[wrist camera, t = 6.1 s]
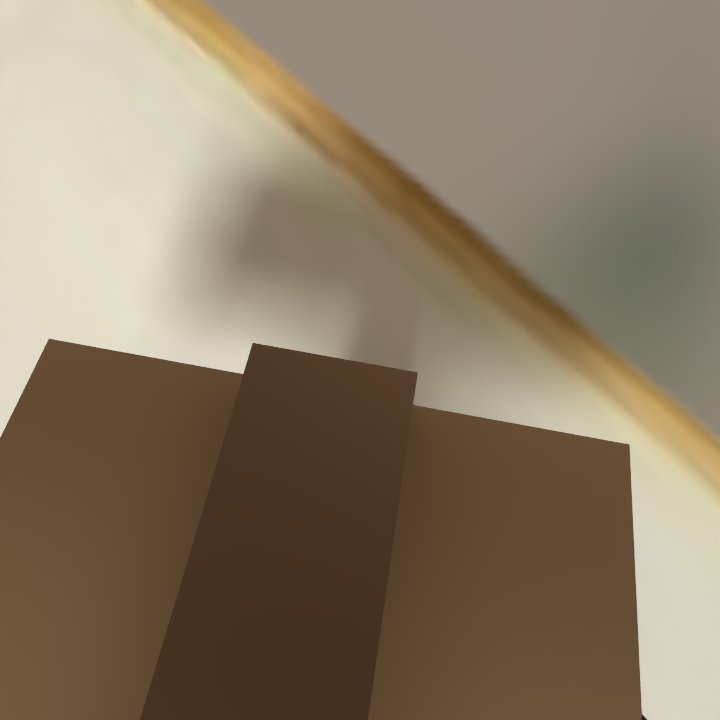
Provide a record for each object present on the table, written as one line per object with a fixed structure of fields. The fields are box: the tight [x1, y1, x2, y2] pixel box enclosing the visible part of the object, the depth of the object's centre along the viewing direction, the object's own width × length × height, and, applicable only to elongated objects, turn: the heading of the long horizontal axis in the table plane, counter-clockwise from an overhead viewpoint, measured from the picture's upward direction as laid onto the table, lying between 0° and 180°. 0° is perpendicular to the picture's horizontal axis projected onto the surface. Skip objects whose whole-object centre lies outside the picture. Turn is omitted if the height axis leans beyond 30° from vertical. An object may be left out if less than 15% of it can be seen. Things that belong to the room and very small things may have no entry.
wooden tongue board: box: [0, 339, 642, 720], centre depth 8 cm, size 4×4×12 cm
